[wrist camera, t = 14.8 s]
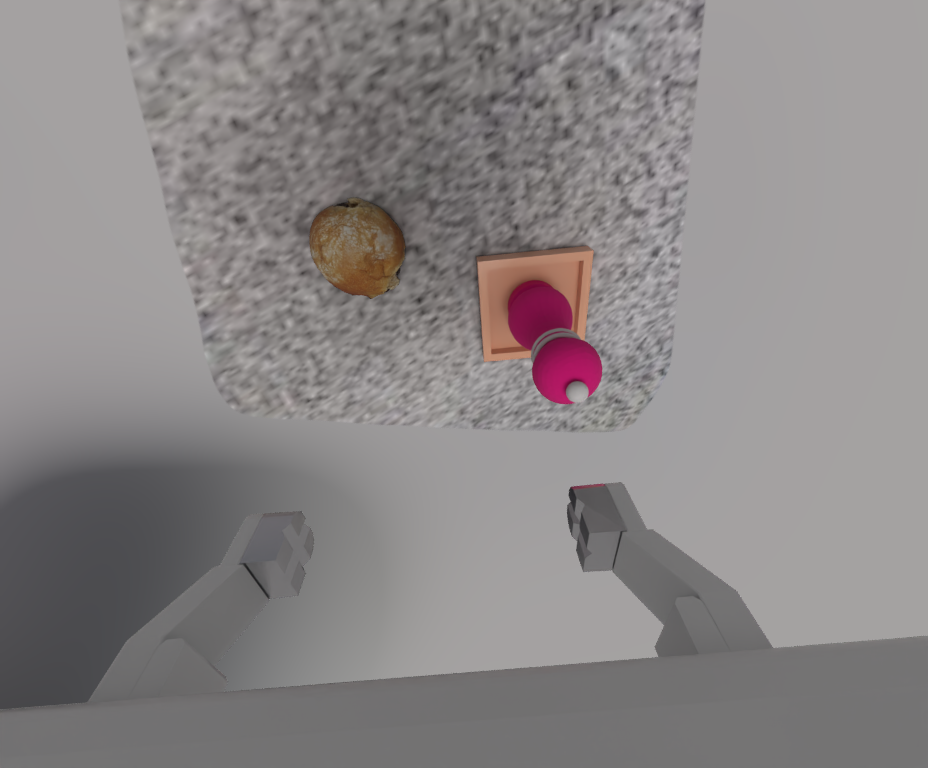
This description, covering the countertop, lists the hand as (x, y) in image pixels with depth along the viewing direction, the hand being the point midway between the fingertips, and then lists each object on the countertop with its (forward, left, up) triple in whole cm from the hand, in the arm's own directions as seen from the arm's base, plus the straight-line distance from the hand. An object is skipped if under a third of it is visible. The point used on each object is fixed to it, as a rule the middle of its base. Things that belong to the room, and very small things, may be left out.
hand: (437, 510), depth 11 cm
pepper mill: (+9, +10, -36) cm, 39 cm away
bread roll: (0, -9, -38) cm, 39 cm away
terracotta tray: (+9, +10, -37) cm, 39 cm away
